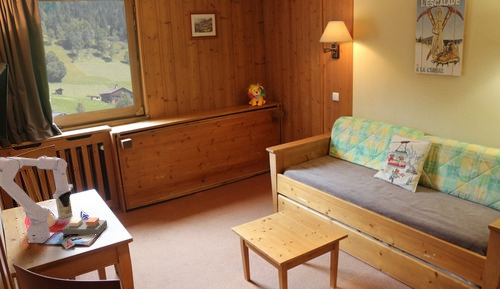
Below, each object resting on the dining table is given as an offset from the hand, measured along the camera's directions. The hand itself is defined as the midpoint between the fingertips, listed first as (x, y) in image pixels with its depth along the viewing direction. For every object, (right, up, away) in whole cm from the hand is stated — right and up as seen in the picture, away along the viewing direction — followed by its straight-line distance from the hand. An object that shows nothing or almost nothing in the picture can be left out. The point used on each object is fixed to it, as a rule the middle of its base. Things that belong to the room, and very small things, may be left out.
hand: (66, 206), depth 215 cm
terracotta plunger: (+16, -10, -6) cm, 20 cm away
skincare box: (-6, -7, +13) cm, 16 cm away
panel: (+12, -11, -5) cm, 17 cm away
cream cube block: (+7, -11, -4) cm, 14 cm away
